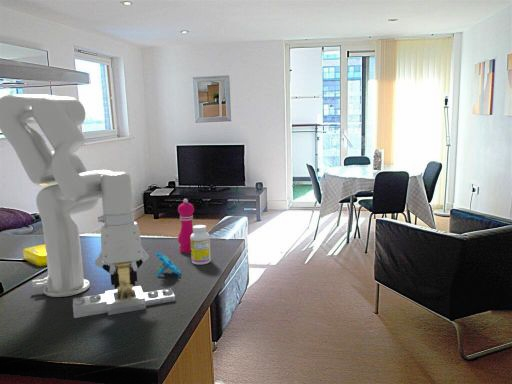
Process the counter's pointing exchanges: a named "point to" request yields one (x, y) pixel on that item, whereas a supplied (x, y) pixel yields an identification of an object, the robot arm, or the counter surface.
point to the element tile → (36, 255)
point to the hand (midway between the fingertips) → (124, 284)
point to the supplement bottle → (200, 245)
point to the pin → (124, 280)
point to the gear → (166, 264)
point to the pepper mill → (185, 225)
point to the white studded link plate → (119, 302)
